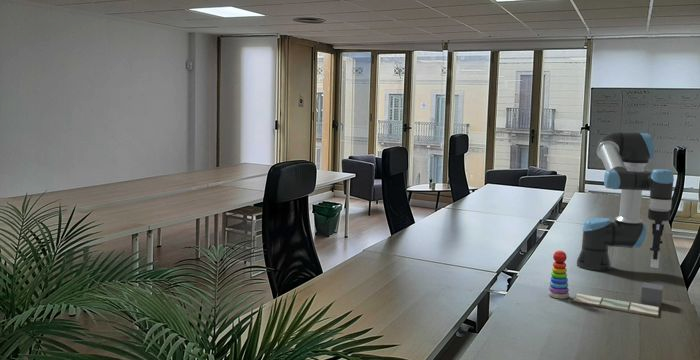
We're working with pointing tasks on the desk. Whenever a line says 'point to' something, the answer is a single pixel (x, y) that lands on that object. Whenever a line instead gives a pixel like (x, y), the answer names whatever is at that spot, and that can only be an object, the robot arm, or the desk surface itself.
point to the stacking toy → (559, 277)
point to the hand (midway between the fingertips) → (654, 263)
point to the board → (616, 305)
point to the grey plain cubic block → (651, 294)
